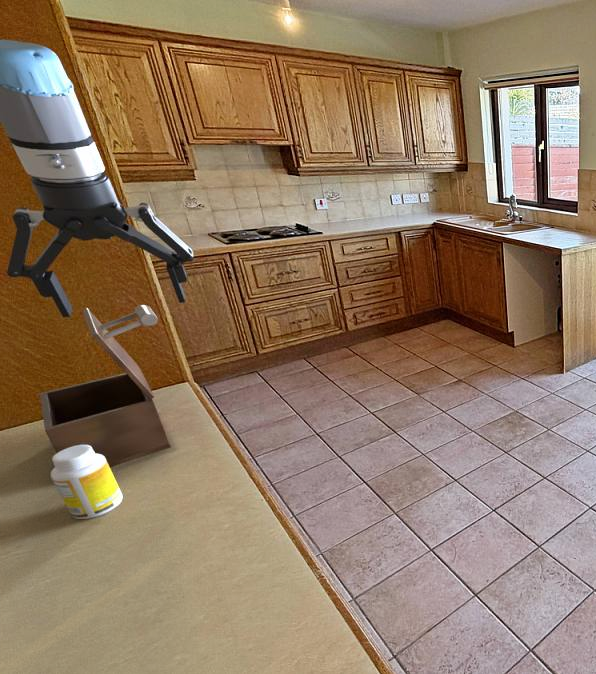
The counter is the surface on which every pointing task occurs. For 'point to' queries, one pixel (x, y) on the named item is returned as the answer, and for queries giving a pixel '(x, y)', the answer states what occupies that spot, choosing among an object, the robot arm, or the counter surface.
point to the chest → (104, 419)
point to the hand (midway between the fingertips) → (128, 305)
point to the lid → (113, 346)
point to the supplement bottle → (85, 482)
